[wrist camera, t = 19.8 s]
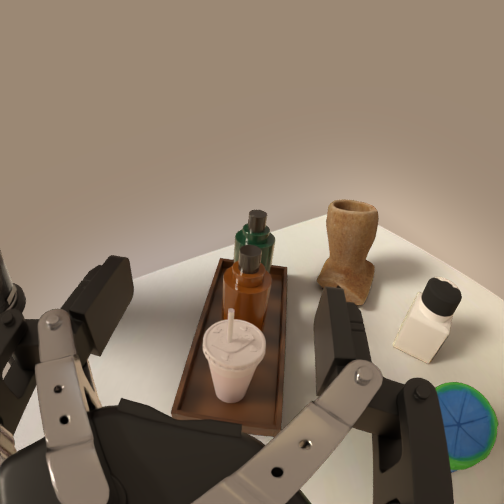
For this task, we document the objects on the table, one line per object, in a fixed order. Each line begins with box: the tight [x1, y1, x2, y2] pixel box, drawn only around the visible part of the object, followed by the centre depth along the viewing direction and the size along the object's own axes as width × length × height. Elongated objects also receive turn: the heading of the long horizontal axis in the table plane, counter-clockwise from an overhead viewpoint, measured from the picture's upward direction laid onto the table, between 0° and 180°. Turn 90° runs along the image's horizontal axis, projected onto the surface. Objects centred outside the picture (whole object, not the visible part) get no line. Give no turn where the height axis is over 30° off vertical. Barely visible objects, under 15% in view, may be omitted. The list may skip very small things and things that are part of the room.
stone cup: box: [317, 200, 378, 305], centre depth 54 cm, size 15×12×15 cm
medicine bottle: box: [393, 277, 462, 364], centre depth 41 cm, size 7×7×12 cm
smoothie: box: [202, 308, 266, 403], centre depth 31 cm, size 6×6×14 cm
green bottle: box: [233, 210, 275, 274], centre depth 48 cm, size 6×6×14 cm
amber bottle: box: [221, 245, 272, 333], centre depth 40 cm, size 6×6×14 cm
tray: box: [171, 258, 287, 437], centre depth 44 cm, size 31×12×2 cm, turn 174°
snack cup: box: [435, 382, 498, 473], centre depth 24 cm, size 16×10×10 cm
